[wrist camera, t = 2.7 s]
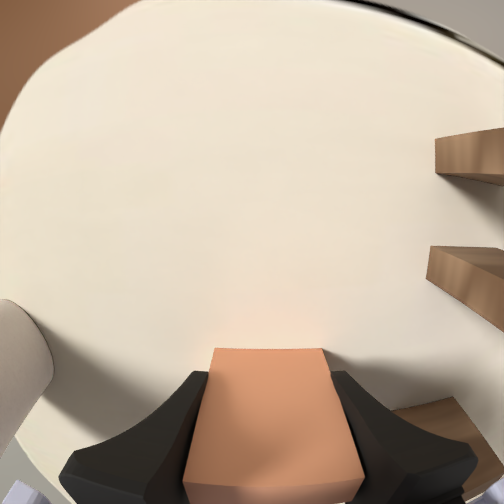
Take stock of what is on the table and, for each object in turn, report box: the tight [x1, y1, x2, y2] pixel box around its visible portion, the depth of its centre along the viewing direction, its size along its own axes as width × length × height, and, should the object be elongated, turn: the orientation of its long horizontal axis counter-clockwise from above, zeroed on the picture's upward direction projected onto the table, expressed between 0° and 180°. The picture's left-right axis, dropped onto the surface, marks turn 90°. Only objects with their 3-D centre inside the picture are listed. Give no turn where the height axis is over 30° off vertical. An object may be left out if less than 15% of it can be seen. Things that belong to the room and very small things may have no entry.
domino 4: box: [391, 397, 504, 502], centre depth 11 cm, size 2×5×8 cm, turn 90°
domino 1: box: [183, 348, 365, 504], centre depth 10 cm, size 2×5×8 cm, turn 89°
